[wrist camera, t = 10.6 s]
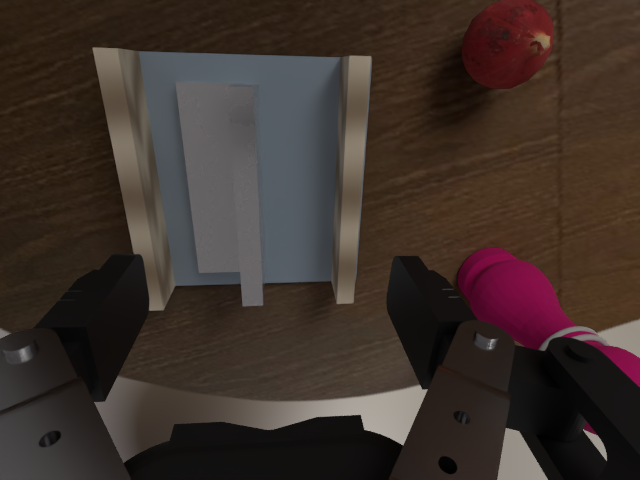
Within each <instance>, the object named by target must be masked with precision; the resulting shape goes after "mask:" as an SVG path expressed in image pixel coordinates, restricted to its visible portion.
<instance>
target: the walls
mask: <svg viewBox="0 0 640 480" xmlns="http://www.w3.org/2000/svg"><path fill="white" fill-rule="evenodd" d="M93 53H94V58H95V63H96V68H97V73H98V78H99V83H100V88H101V93H102V97H103V102H104V107H105V112H106V117H107V122H108V127H109V132H110V137H111V142H112V147H113V152H114V157H115V162H116V167H117V172H118V177H119V182H120V187H121V192H122V197H123V202H124V207H125V212H126V217H127V222H128V227H129V232H130V237H131V242H132V247H133V252H134V254H140V255H141V256H142V258H143V261H144V267H145V273H146V280H147V286H148V292H149V311H156V310H164V308H165V306H166V304H167V302H168V300H169V298H170V296H171V294H172V292H173V290H174V288H175V281H174V274H173V268H172V262H171V255H170V249H169V242H168V236H167V230H166V223H165V217H164V210H163V204H162V198H161V191H160V185H159V178H158V172H157V166H156V159H155V153H154V146H153V140H152V134H151V127H150V121H149V114H148V108H147V102H146V95H145V89H144V82H143V76H142V70H141V63H140V57H139V51H132V50H125V49H118V48H93ZM370 65H371V56H345V57H341V59H340V83H339V107H338V131H337V155H336V179H335V203H334V226H333V250H332V274H331V282H332V286H333V290H334V294H335V298H336V302H337V304H347V303H353V301H354V287H355V273H356V259H357V245H358V231H359V218H360V204H361V190H362V176H363V162H364V148H365V134H366V120H367V106H368V92H369V79H370Z"/></svg>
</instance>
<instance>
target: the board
mask: <svg viewBox="0 0 640 480" xmlns="http://www.w3.org/2000/svg"><path fill="white" fill-rule="evenodd" d="M139 57H140V63H141V70H142V76H143V82H144V89H145V95H146V102H147V108H148V114H149V121H150V127H151V134H152V140H153V146H154V153H155V159H156V166H157V172H158V178H159V185H160V191H161V198H162V204H163V210H164V217H165V223H166V230H167V236H168V242H169V249H170V255H171V262H172V268H173V274H174V281H175V286H188V285H221V284H241V277H240V272H216V273H199V269H198V261H197V253H196V245H195V237H194V229H193V221H192V213H191V205H190V196H189V188H188V180H187V172H186V164H185V156H184V148H183V140H182V132H181V124H180V116H179V108H178V99H177V91H176V83H175V82H208V83H251V84H259V103H260V128H261V153H262V179H263V204H264V229H265V255H266V271H265V283H287V282H320V281H331V274H332V250H333V226H334V203H335V179H336V155H337V131H338V107H339V83H340V59H341V58H339V57H307V56H274V55H241V54H208V53H175V52H143V51H139ZM371 68H372V58H371V65H370V79H369V92H368V106H367V120H366V134H365V148H364V162H363V176H362V190H361V204H360V218H361V205H362V191H363V177H364V164H365V150H366V136H367V123H368V109H369V95H370V82H371ZM360 218H359V231H358V245H357V259H358V246H359V232H360ZM357 259H356V273H357ZM356 273H355V280H356Z"/></svg>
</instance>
